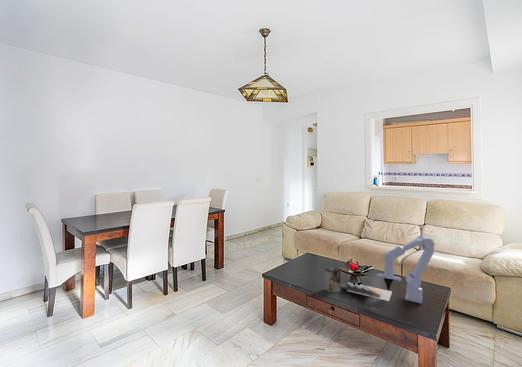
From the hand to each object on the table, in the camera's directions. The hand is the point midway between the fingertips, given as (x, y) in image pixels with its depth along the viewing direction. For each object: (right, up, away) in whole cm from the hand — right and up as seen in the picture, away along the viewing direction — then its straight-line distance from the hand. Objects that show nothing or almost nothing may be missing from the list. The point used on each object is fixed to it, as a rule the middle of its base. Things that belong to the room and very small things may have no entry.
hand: (388, 289), depth 187 cm
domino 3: (-13, -5, +8) cm, 16 cm away
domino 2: (-17, -5, +11) cm, 21 cm away
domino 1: (-21, -4, +14) cm, 26 cm away
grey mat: (-9, -6, +10) cm, 15 cm away
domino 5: (-4, -5, +3) cm, 7 cm away
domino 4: (-8, -5, +6) cm, 11 cm away
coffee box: (-35, -6, +12) cm, 38 cm away
